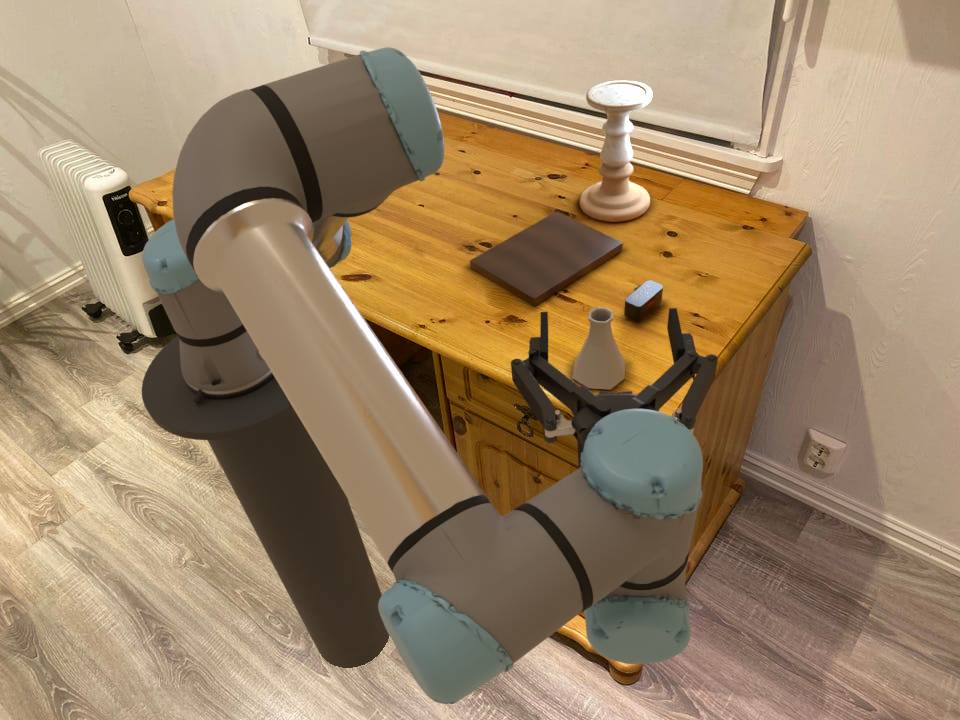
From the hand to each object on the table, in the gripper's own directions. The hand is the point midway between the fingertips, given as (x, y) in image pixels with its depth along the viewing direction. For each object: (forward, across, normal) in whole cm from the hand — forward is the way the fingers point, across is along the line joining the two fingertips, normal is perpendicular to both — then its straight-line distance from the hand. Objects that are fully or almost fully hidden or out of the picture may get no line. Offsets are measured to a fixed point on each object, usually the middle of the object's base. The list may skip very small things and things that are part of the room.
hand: (607, 319), depth 77 cm
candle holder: (+53, +5, -17) cm, 56 cm away
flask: (+10, 0, -17) cm, 20 cm away
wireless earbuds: (+24, +7, -17) cm, 30 cm away
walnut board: (+37, -7, -17) cm, 41 cm away
